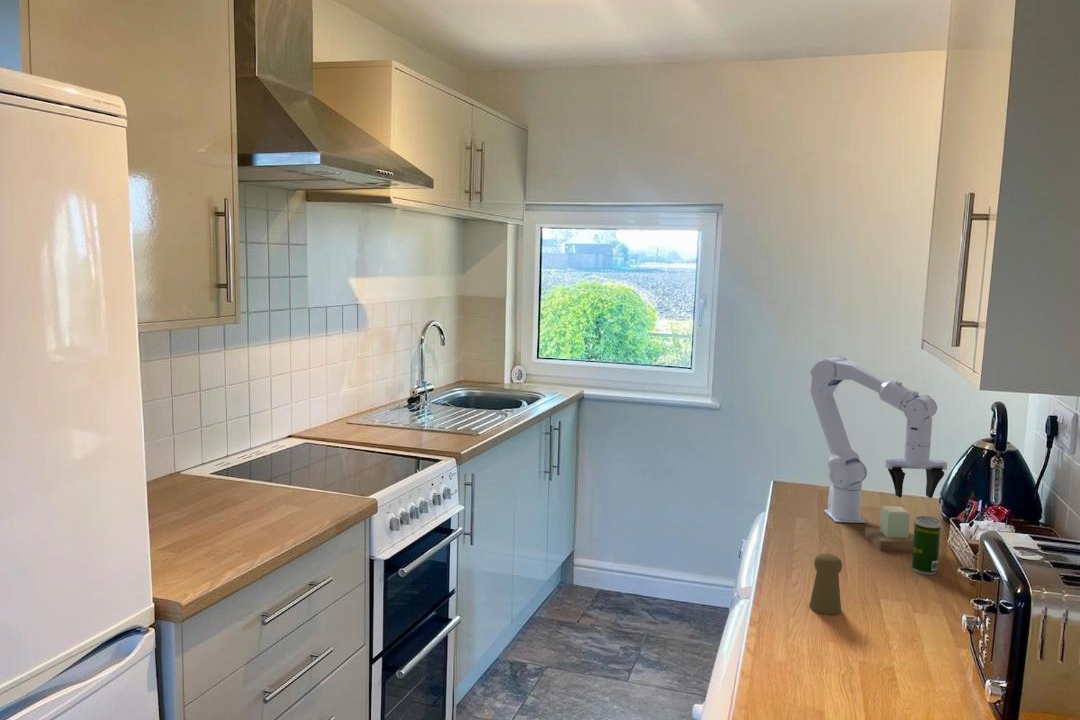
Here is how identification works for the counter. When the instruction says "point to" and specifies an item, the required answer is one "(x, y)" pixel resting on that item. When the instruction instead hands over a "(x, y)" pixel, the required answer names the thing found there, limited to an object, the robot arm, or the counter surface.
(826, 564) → the olive pepper mill
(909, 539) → the walnut block
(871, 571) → the counter surface
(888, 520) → the tea tin
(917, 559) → the beer can
